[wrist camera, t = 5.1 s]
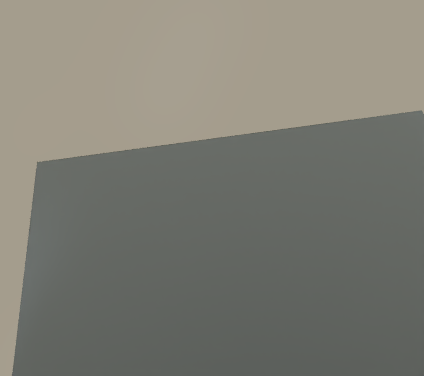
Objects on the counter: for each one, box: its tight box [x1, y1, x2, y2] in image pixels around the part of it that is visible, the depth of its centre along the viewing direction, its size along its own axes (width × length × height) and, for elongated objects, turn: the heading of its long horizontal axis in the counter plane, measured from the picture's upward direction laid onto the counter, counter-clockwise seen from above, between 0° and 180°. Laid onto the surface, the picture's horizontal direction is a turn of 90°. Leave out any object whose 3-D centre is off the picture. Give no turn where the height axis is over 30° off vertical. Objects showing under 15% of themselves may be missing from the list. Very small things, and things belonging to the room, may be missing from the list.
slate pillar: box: [12, 111, 424, 376], centre depth 8 cm, size 4×4×12 cm
